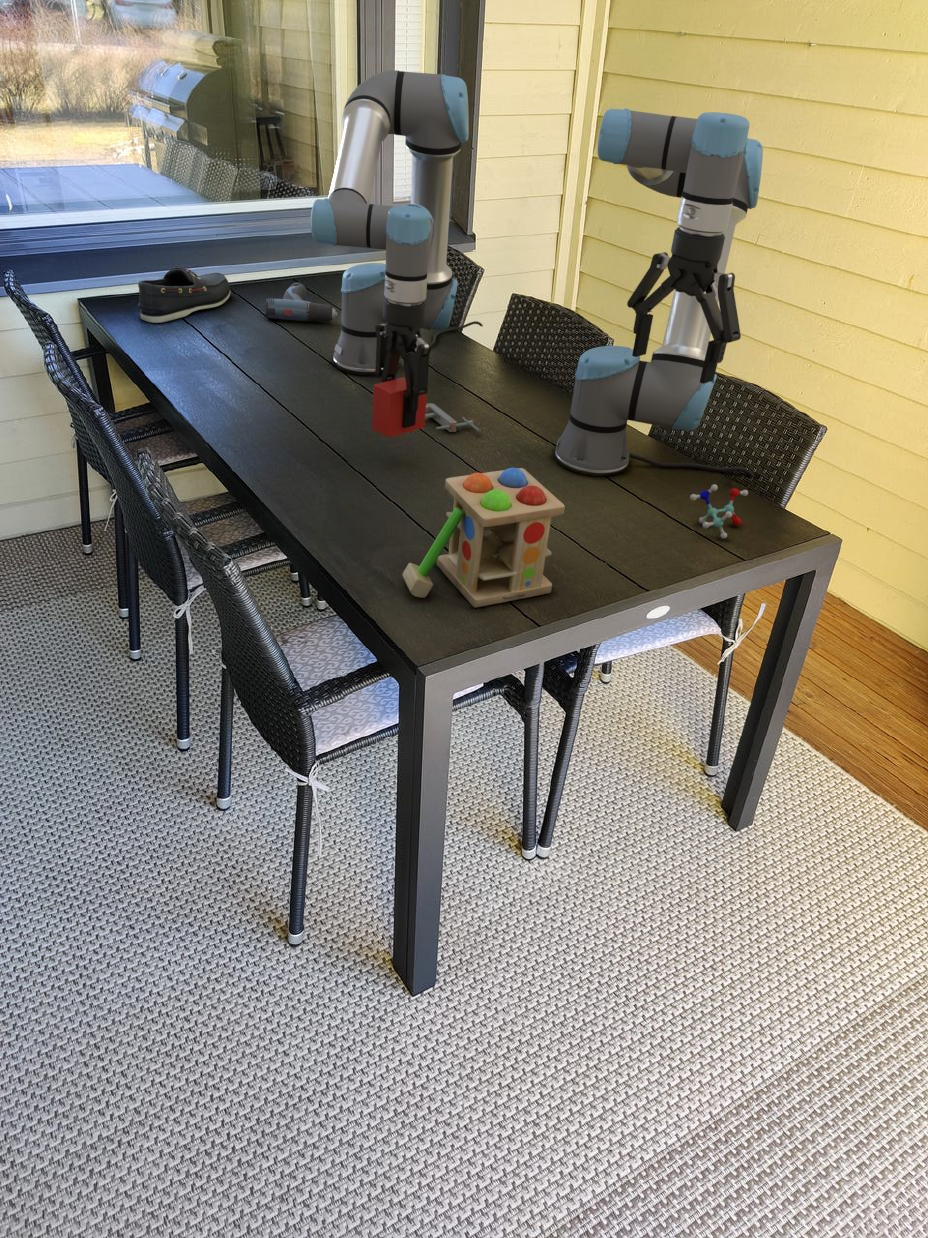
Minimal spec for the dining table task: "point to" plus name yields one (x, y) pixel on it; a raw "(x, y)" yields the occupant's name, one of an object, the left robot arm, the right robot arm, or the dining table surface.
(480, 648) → the dining table surface
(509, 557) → the pounding bench toy
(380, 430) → the block
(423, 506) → the dining table surface
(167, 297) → the boat shoe
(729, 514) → the molecular model
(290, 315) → the power drill
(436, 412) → the clamp
